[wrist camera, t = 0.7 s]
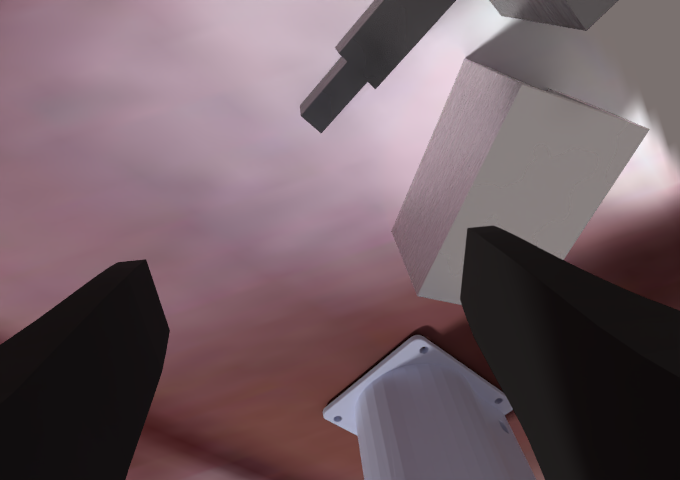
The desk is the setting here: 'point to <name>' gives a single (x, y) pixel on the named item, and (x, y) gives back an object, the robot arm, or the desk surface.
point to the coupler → (405, 32)
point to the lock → (507, 174)
